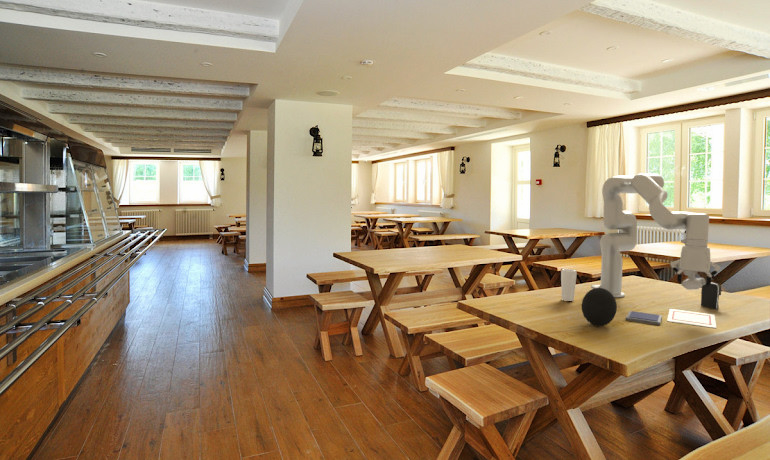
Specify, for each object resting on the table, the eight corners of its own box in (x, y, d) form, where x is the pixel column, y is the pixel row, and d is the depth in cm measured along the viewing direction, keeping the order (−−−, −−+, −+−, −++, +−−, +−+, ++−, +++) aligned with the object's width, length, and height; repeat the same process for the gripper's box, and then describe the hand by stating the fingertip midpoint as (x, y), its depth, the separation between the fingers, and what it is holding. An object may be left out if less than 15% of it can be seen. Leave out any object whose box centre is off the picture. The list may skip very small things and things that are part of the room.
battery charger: (721, 308, 199) (723, 283, 198) (715, 309, 198) (717, 284, 197) (705, 304, 206) (707, 280, 204) (699, 305, 204) (701, 281, 203)
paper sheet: (667, 321, 180) (667, 320, 180) (669, 309, 198) (669, 308, 198) (716, 328, 171) (716, 327, 171) (714, 315, 189) (714, 314, 189)
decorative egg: (582, 319, 183) (584, 283, 182) (616, 323, 177) (618, 286, 175) (579, 327, 172) (580, 289, 171) (614, 332, 166) (616, 293, 165)
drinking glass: (557, 299, 216) (558, 268, 215) (570, 298, 217) (572, 268, 215) (564, 302, 210) (565, 271, 208) (578, 302, 210) (579, 271, 209)
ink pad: (625, 320, 181) (625, 316, 181) (629, 313, 191) (629, 310, 191) (660, 325, 175) (660, 321, 174) (661, 318, 184) (662, 314, 184)
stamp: (710, 286, 182) (705, 266, 182) (704, 289, 178) (699, 269, 178) (685, 287, 189) (680, 268, 190) (679, 291, 185) (674, 271, 186)
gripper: (670, 242, 183) (668, 283, 185) (723, 245, 173) (720, 289, 175) (671, 241, 190) (669, 280, 191) (722, 243, 180) (719, 285, 181)
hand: (693, 284), depth 183 cm, fingers closed on stamp, 8 cm apart
